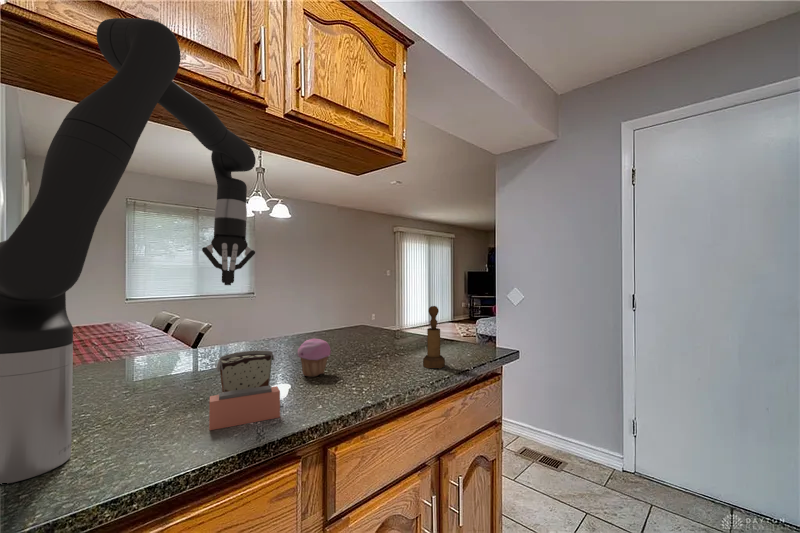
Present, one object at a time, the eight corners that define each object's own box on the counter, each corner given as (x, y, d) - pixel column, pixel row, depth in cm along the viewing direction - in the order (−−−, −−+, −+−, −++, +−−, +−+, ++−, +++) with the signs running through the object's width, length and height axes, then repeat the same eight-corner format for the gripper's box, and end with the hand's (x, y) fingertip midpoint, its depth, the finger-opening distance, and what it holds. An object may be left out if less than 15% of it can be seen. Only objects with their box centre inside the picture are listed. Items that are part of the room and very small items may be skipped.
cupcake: (313, 369, 102) (313, 335, 102) (337, 372, 98) (337, 337, 98) (291, 377, 94) (291, 340, 94) (315, 381, 90) (315, 342, 91)
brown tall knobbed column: (438, 370, 100) (438, 307, 101) (419, 367, 104) (418, 306, 104) (448, 365, 106) (447, 305, 106) (429, 362, 109) (429, 304, 110)
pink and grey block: (209, 430, 62) (209, 398, 62) (209, 423, 65) (209, 392, 65) (279, 417, 67) (280, 388, 68) (277, 411, 70) (277, 383, 71)
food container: (261, 389, 84) (261, 347, 85) (274, 394, 80) (274, 351, 80) (206, 403, 75) (206, 357, 75) (218, 410, 71) (218, 361, 71)
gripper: (201, 213, 85) (197, 284, 84) (259, 219, 91) (256, 285, 90) (202, 218, 91) (198, 284, 90) (256, 224, 98) (253, 285, 96)
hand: (227, 285), depth 90 cm, fingers closed
